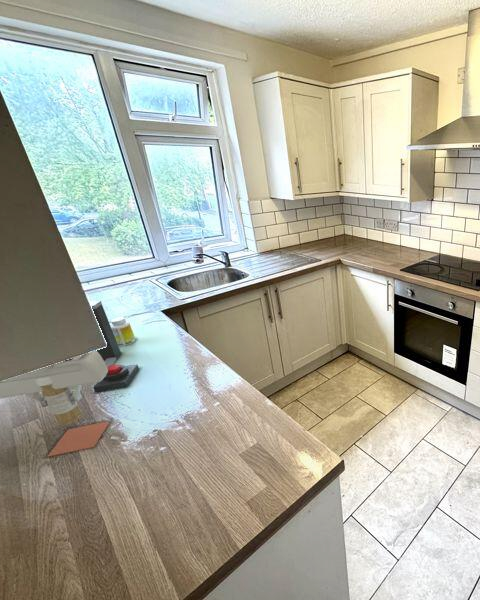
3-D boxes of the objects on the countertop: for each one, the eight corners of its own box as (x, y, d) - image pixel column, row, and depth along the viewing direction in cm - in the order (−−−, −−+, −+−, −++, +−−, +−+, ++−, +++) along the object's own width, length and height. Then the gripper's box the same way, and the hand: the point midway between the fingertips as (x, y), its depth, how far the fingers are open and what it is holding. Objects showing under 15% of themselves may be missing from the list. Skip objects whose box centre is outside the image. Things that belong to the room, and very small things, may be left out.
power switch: (95, 393, 98) (90, 382, 96) (110, 374, 107) (106, 364, 105) (127, 388, 100) (123, 377, 99) (139, 370, 109) (135, 359, 107)
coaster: (47, 458, 77) (46, 456, 76) (69, 430, 84) (68, 429, 84) (94, 448, 79) (93, 446, 79) (111, 422, 87) (110, 420, 87)
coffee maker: (60, 384, 102) (30, 323, 94) (84, 360, 114) (59, 304, 106) (103, 377, 105) (78, 318, 97) (121, 354, 117) (100, 300, 109)
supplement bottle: (138, 338, 128) (129, 314, 124) (133, 345, 123) (124, 321, 119) (121, 340, 126) (111, 317, 122) (115, 348, 121) (105, 323, 117)
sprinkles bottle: (67, 413, 81) (43, 368, 76) (88, 411, 82) (66, 366, 76) (52, 427, 77) (26, 380, 72) (74, 424, 78) (50, 378, 72)
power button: (106, 375, 100) (104, 370, 99) (111, 369, 103) (109, 365, 102) (119, 373, 101) (117, 369, 100) (123, 367, 104) (121, 363, 103)
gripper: (-40, 369, 66) (-6, 422, 71) (85, 351, 72) (107, 401, 77) (-15, 353, 71) (14, 403, 77) (99, 338, 78) (118, 385, 83)
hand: (62, 402), depth 77 cm, fingers closed on sprinkles bottle, 4 cm apart
